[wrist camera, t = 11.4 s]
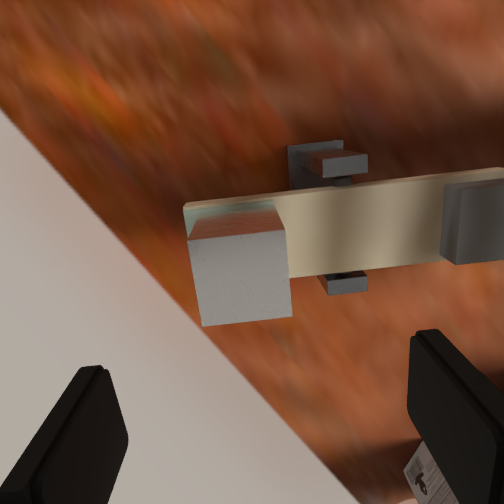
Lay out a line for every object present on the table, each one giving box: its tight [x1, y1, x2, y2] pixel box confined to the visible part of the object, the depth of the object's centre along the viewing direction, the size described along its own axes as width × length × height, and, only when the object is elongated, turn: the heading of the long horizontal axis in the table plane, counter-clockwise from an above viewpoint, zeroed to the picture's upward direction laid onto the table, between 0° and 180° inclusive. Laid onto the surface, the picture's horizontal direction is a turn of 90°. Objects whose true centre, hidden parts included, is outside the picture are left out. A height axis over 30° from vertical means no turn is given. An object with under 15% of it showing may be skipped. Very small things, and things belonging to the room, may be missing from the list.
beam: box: [183, 167, 504, 278], centre depth 25 cm, size 22×7×4 cm, turn 96°
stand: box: [286, 139, 368, 296], centre depth 30 cm, size 5×11×10 cm, turn 6°
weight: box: [187, 205, 292, 327], centre depth 22 cm, size 5×5×6 cm
